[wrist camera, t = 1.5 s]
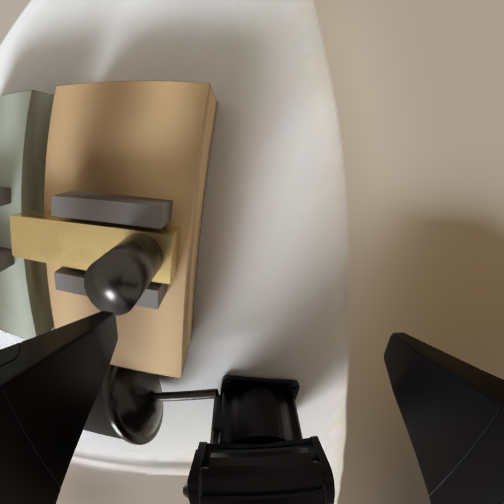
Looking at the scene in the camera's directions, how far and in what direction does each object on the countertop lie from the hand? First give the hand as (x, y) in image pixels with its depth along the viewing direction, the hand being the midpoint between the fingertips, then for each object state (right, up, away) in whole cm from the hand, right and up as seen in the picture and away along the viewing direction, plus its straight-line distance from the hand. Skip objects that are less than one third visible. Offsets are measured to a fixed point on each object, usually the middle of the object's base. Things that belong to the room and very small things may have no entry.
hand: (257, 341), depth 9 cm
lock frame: (-13, +6, +10) cm, 18 cm away
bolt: (-9, +3, +6) cm, 11 cm away
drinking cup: (-22, -11, +13) cm, 28 cm away
